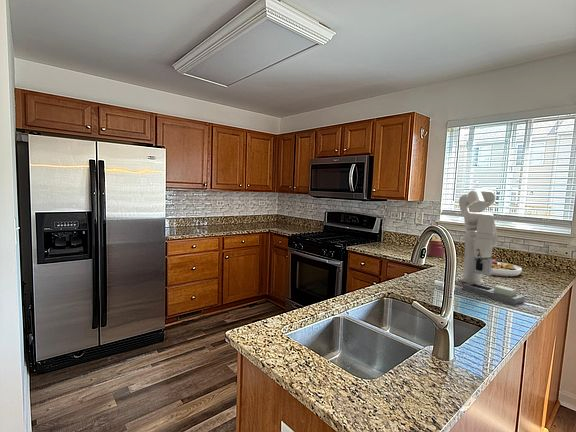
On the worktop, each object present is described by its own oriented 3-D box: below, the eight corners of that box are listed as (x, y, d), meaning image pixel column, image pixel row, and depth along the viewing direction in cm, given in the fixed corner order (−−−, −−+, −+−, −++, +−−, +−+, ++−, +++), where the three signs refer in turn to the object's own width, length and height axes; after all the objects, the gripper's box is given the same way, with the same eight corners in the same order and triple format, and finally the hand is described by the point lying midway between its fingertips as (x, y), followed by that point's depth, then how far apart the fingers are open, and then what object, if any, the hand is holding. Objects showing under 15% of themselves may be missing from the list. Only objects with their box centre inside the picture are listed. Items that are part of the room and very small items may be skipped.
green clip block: (498, 296, 165) (498, 285, 165) (515, 301, 158) (516, 289, 158) (493, 297, 163) (494, 286, 162) (510, 302, 156) (511, 290, 155)
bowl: (532, 278, 205) (533, 266, 205) (486, 277, 205) (487, 265, 205) (501, 267, 235) (502, 257, 235) (461, 266, 235) (462, 256, 235)
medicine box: (491, 275, 168) (492, 259, 168) (489, 276, 165) (490, 260, 165) (475, 272, 174) (476, 256, 173) (472, 273, 171) (473, 257, 170)
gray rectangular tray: (472, 287, 179) (472, 282, 179) (524, 302, 157) (524, 296, 156) (462, 289, 175) (462, 284, 174) (514, 305, 152) (515, 298, 152)
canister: (435, 258, 262) (437, 237, 261) (424, 255, 274) (425, 235, 273) (447, 257, 267) (448, 236, 265) (435, 254, 279) (436, 234, 278)
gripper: (486, 235, 176) (483, 267, 177) (468, 236, 168) (465, 269, 169) (500, 237, 169) (498, 270, 170) (482, 237, 161) (480, 272, 162)
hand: (482, 269), depth 169 cm, fingers closed on medicine box, 5 cm apart
